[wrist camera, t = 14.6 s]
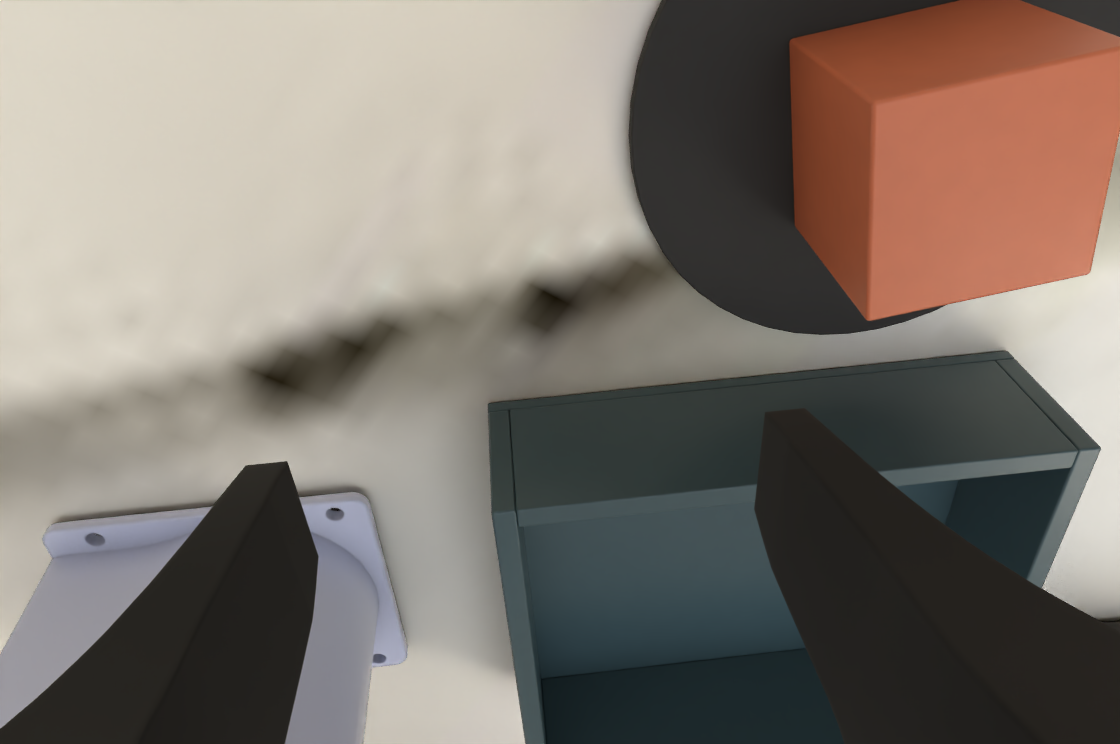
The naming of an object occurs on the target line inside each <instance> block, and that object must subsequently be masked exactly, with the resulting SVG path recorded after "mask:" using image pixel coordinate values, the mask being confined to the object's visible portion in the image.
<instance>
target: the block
mask: <svg viewBox="0 0 1120 744" xmlns="http://www.w3.org/2000/svg"><path fill="white" fill-rule="evenodd" d="M789 49H790V82H791V115H792V148H793V181H794V214H795V227H796V228H797V230H798V231H799V232H800V234H801V235H802V236H803V237H804V239H805V240H806V241H807V243H808V244H809V245H810V247H811V248H812V249H813V251H814V252H815V253H816V255H817V256H818V257H819V259H820V260H821V261H822V262H823V264H824V265H825V266H826V268H827V269H828V270H829V272H830V273H831V274H832V276H833V277H834V278H835V280H836V281H837V282H838V284H839V285H840V286H841V287H842V289H843V290H844V291H845V293H846V294H847V295H848V297H849V298H850V299H851V301H852V302H853V303H854V305H855V306H856V307H857V309H858V310H859V311H860V312H861V314H862V315H863V316H864V318H865V319H866V320H867V321H872V320H877V319H881V318H886V317H891V316H895V315H900V314H905V313H909V312H914V311H919V310H923V309H928V308H933V307H937V306H942V305H947V304H951V303H956V302H961V301H965V300H970V299H975V298H979V297H984V296H989V295H993V294H998V293H1003V292H1007V291H1012V290H1017V289H1021V288H1026V287H1031V286H1035V285H1040V284H1045V283H1049V282H1054V281H1059V280H1063V279H1068V278H1073V277H1077V276H1082V275H1087V274H1089V273H1090V271H1091V266H1092V261H1093V257H1094V252H1095V247H1096V242H1097V237H1098V233H1099V228H1100V223H1101V218H1102V214H1103V209H1104V204H1105V199H1106V194H1107V190H1108V185H1109V180H1110V175H1111V171H1112V166H1113V161H1114V156H1115V151H1116V147H1117V142H1118V137H1119V132H1120V37H1118V36H1115V35H1113V34H1110V33H1107V32H1104V31H1102V30H1099V29H1096V28H1094V27H1091V26H1088V25H1086V24H1083V23H1080V22H1077V21H1075V20H1072V19H1069V18H1067V17H1064V16H1061V15H1059V14H1056V13H1053V12H1050V11H1048V10H1045V9H1042V8H1040V7H1037V6H1034V5H1031V4H1029V3H1026V2H1023V1H1021V0H959V1H955V2H950V3H946V4H941V5H937V6H933V7H928V8H924V9H920V10H915V11H911V12H906V13H902V14H898V15H893V16H889V17H884V18H880V19H876V20H871V21H867V22H862V23H858V24H854V25H849V26H845V27H841V28H836V29H832V30H827V31H823V32H819V33H814V34H810V35H805V36H801V37H797V38H793V39H791V40H790V43H789Z"/></svg>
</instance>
